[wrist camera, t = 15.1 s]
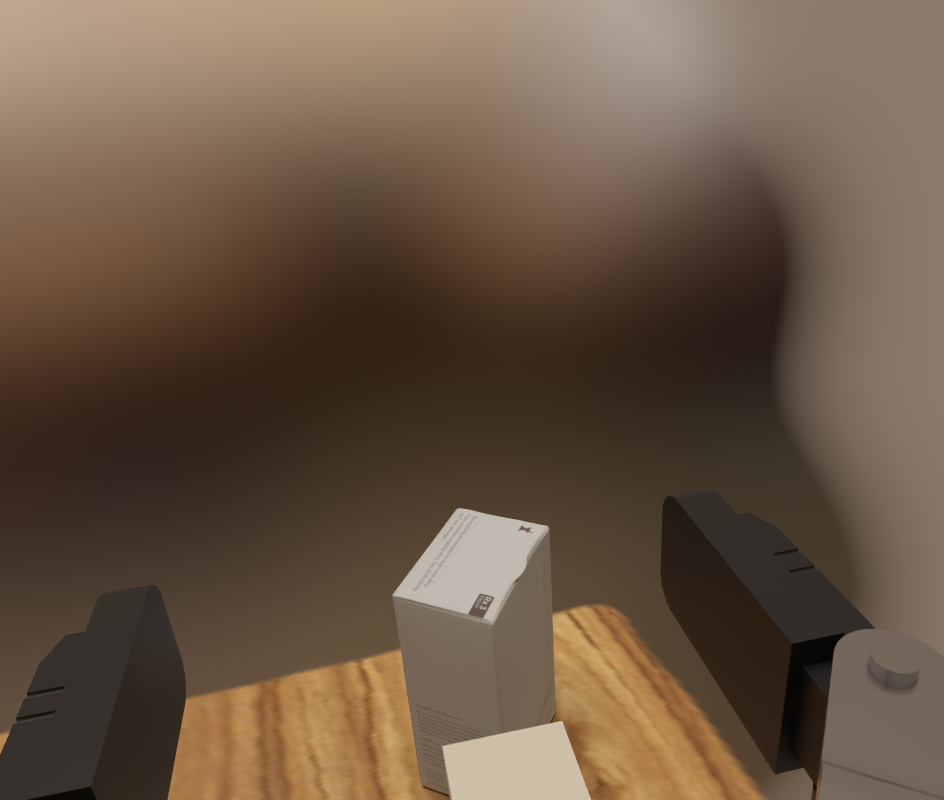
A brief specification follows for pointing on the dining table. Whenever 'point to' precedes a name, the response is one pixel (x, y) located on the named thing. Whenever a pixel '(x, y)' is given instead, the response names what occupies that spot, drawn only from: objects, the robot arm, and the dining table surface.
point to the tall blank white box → (515, 766)
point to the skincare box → (476, 635)
